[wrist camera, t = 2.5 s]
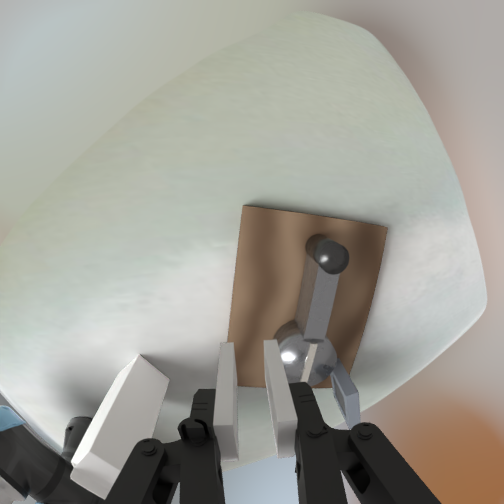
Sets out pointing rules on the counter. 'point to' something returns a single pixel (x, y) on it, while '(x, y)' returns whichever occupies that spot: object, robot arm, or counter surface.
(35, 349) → the counter surface
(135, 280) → the counter surface
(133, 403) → the milk
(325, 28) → the counter surface
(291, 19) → the counter surface
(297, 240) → the stand board
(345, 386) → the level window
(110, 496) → the robot arm
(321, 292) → the crank handle
